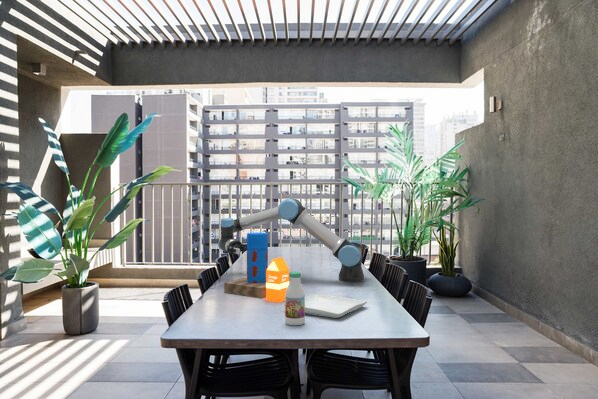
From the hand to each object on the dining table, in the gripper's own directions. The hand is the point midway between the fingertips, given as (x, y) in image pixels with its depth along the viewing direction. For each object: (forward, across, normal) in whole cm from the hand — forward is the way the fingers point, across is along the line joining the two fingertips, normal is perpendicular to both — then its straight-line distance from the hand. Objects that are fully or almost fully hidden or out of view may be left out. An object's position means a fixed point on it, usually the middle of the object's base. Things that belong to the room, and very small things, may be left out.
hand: (251, 250), depth 251 cm
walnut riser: (+7, 0, -20) cm, 21 cm away
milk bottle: (+68, +15, -20) cm, 72 cm away
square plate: (+57, -8, -21) cm, 61 cm away
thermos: (+7, 0, -16) cm, 17 cm away
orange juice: (+29, 0, -20) cm, 36 cm away
